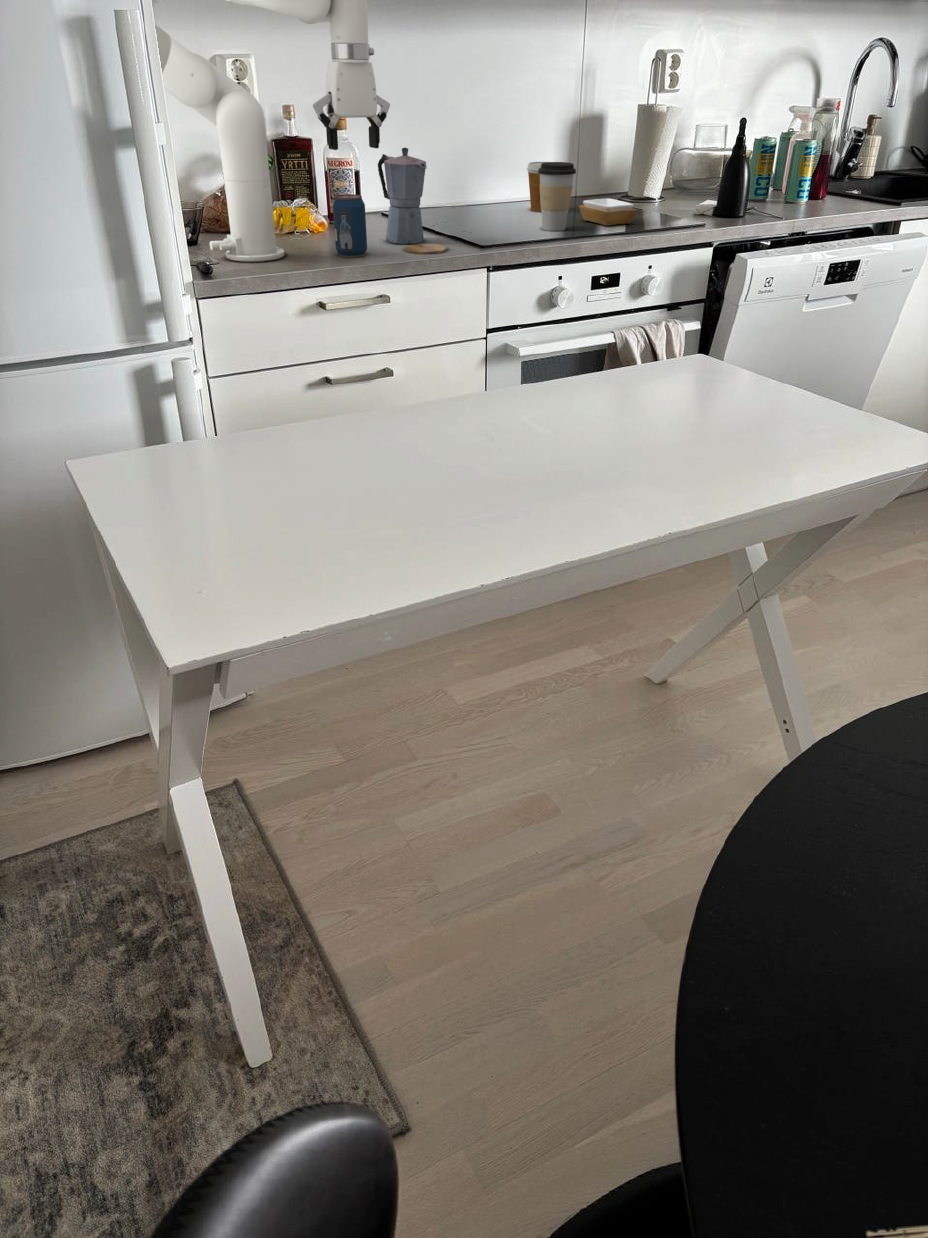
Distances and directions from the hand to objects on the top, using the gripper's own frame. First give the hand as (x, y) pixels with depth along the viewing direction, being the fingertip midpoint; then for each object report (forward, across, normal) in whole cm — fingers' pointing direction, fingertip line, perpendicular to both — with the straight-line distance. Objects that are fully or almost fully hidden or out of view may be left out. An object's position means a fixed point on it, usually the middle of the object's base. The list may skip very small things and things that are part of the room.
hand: (353, 148), depth 197 cm
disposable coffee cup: (+20, -73, -28) cm, 81 cm away
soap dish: (+20, -75, -2) cm, 78 cm away
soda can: (+21, +2, +1) cm, 21 cm away
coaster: (+21, -15, +5) cm, 26 cm away
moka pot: (+21, -16, -8) cm, 27 cm away
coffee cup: (+20, -57, -2) cm, 60 cm away
